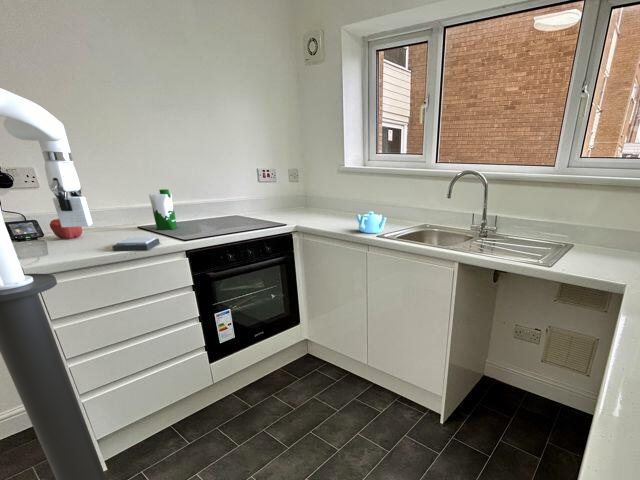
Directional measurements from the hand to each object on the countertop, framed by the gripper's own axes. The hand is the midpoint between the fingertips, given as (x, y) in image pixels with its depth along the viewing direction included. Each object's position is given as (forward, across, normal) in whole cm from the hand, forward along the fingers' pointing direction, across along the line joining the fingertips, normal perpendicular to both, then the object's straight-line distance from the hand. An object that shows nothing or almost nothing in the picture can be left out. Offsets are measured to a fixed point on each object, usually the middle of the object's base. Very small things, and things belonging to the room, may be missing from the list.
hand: (73, 209), depth 130 cm
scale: (+16, -10, +14) cm, 24 cm away
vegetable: (+16, -31, -21) cm, 41 cm away
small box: (+6, 0, 0) cm, 6 cm away
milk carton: (+16, -54, +11) cm, 57 cm away
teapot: (+16, -40, +119) cm, 126 cm away
